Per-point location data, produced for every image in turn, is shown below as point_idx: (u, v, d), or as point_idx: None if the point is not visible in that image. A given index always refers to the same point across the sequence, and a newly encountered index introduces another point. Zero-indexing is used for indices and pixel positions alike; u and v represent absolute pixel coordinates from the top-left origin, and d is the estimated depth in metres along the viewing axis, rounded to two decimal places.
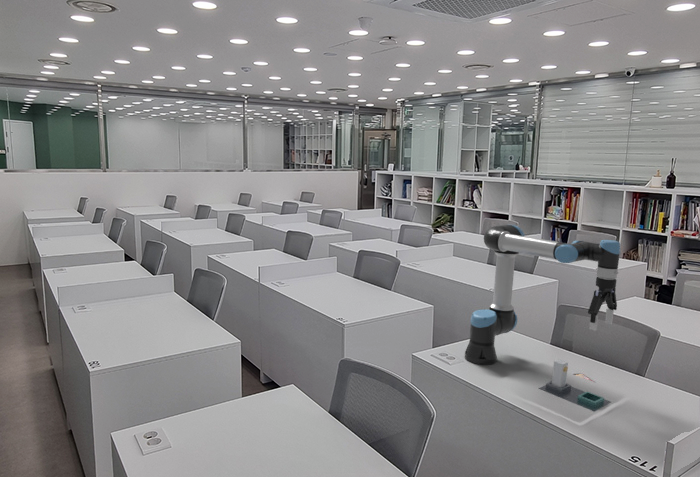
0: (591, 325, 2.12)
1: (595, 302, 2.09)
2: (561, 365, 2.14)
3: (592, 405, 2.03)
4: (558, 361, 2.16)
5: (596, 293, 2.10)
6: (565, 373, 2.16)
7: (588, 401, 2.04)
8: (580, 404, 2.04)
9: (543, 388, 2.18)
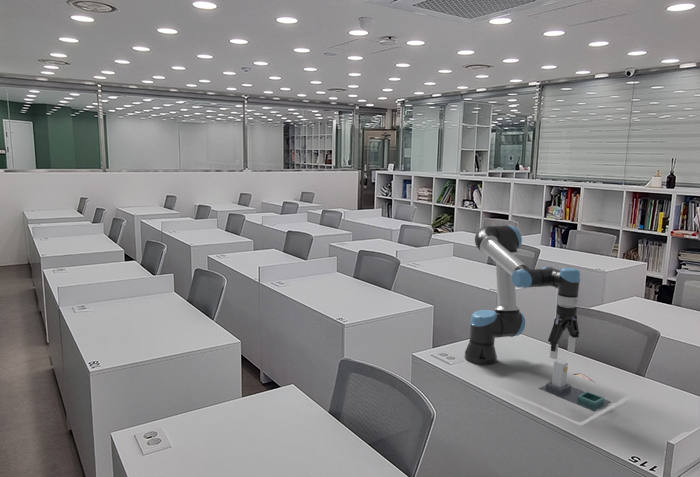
0: (552, 353, 2.11)
1: (555, 331, 2.08)
2: (561, 365, 2.14)
3: (592, 405, 2.03)
4: (558, 361, 2.16)
5: (556, 321, 2.09)
6: (565, 373, 2.16)
7: (588, 401, 2.04)
8: (580, 404, 2.04)
9: (543, 388, 2.18)
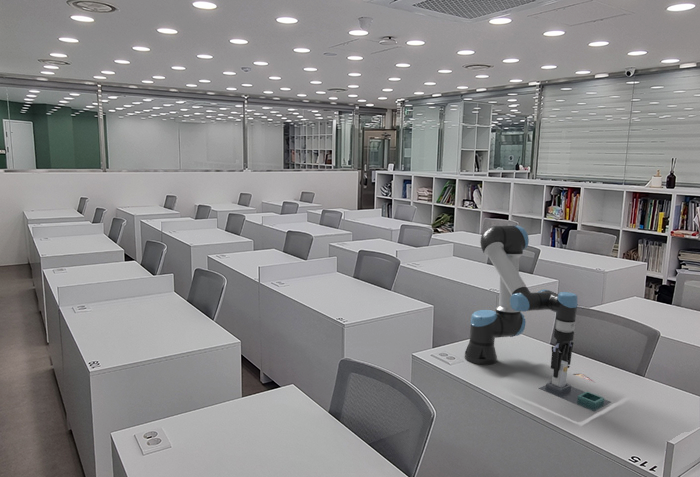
0: (554, 379, 2.16)
1: (555, 358, 2.12)
2: (561, 365, 2.14)
3: (592, 405, 2.03)
4: None
5: (554, 349, 2.11)
6: (565, 373, 2.16)
7: (588, 401, 2.04)
8: (580, 404, 2.04)
9: (543, 388, 2.18)
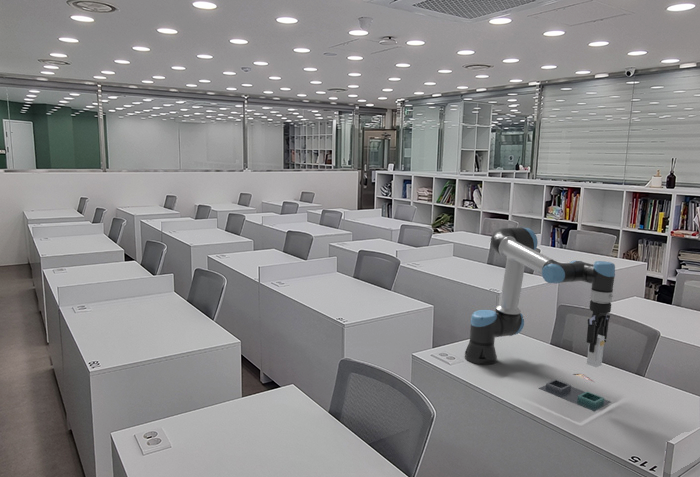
0: (590, 355, 2.03)
1: (591, 331, 1.99)
2: (598, 339, 2.01)
3: (592, 405, 2.03)
4: None
5: (590, 322, 1.98)
6: (602, 348, 2.03)
7: (588, 401, 2.04)
8: (580, 404, 2.04)
9: (543, 388, 2.18)
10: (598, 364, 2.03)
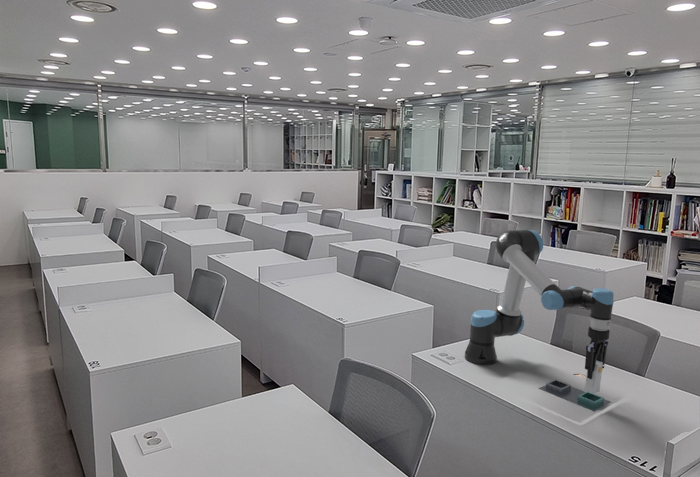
0: (588, 381, 2.05)
1: (589, 358, 2.00)
2: (596, 365, 2.02)
3: (592, 405, 2.03)
4: None
5: (588, 349, 2.00)
6: (600, 374, 2.04)
7: (588, 401, 2.04)
8: (580, 404, 2.04)
9: (543, 388, 2.18)
10: (596, 390, 2.04)
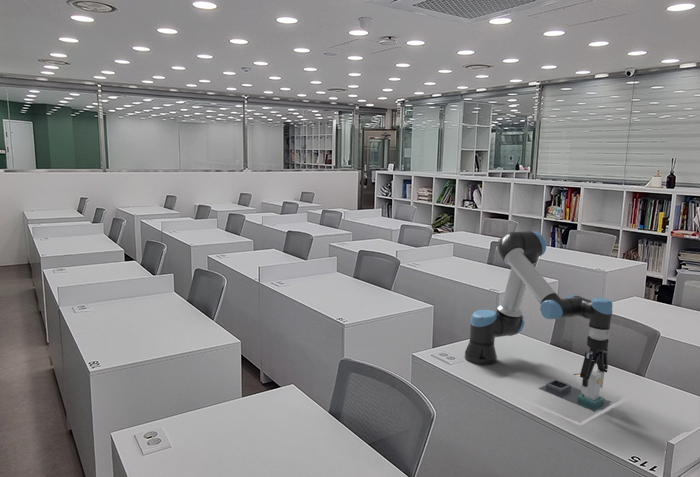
0: (583, 389, 2.03)
1: (586, 366, 2.00)
2: (594, 377, 2.03)
3: (592, 405, 2.03)
4: (591, 373, 2.05)
5: (587, 355, 2.00)
6: (598, 385, 2.05)
7: (588, 401, 2.04)
8: (580, 404, 2.04)
9: (543, 388, 2.18)
10: None
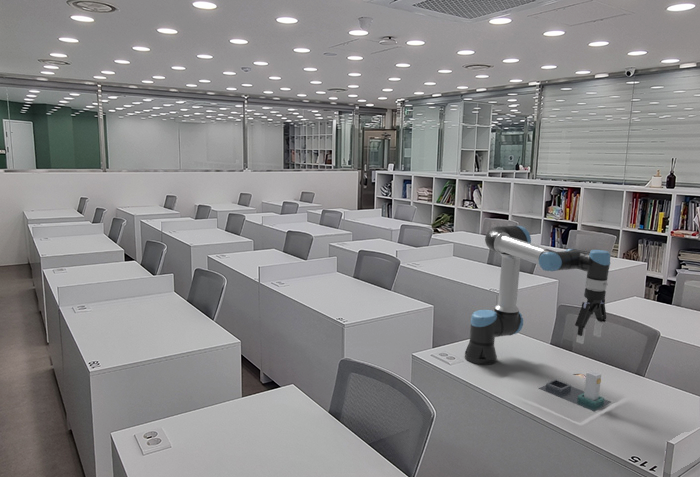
0: (578, 338, 2.05)
1: (583, 314, 2.01)
2: (594, 377, 2.03)
3: (592, 405, 2.03)
4: (591, 373, 2.05)
5: (584, 305, 2.02)
6: (598, 385, 2.05)
7: (588, 401, 2.04)
8: (580, 404, 2.04)
9: (543, 388, 2.18)
10: None
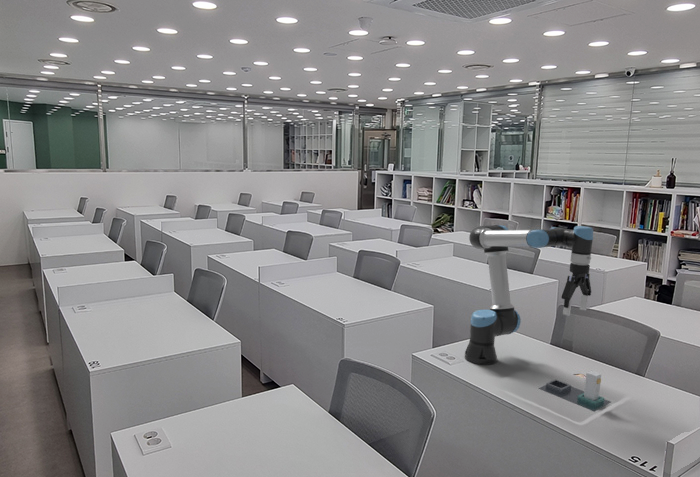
0: (565, 310, 2.15)
1: (568, 287, 2.12)
2: (594, 377, 2.03)
3: (592, 405, 2.03)
4: (591, 373, 2.05)
5: (570, 278, 2.13)
6: (598, 385, 2.05)
7: (588, 401, 2.04)
8: (580, 404, 2.04)
9: (543, 388, 2.18)
10: None
